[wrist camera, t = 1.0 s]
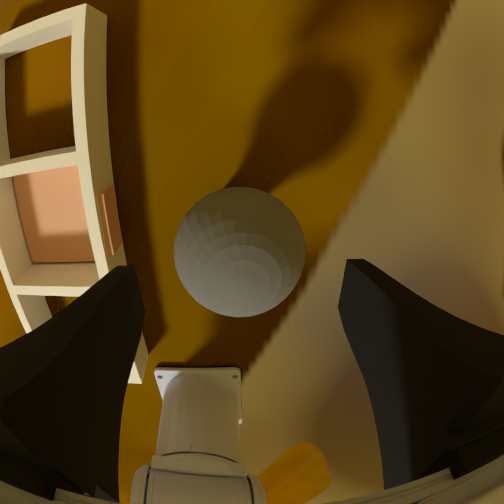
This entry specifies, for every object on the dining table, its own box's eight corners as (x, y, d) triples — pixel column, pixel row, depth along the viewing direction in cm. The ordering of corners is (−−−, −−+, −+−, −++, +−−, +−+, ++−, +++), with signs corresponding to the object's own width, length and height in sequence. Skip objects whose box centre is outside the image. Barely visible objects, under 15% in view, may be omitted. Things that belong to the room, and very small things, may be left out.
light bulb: (286, 164, 20) (334, 220, 11) (274, 247, 23) (303, 346, 14) (193, 156, 19) (162, 207, 10) (189, 242, 22) (167, 341, 13)
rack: (152, 354, 27) (146, 384, 24) (59, 348, 26) (47, 373, 23) (113, 14, 14) (92, 1, 11) (-2, 52, 14) (-31, 51, 11)
